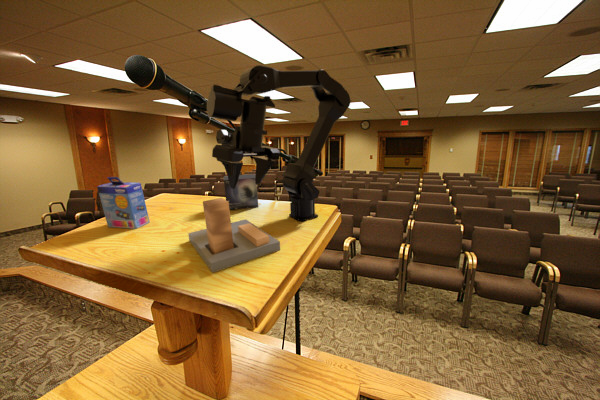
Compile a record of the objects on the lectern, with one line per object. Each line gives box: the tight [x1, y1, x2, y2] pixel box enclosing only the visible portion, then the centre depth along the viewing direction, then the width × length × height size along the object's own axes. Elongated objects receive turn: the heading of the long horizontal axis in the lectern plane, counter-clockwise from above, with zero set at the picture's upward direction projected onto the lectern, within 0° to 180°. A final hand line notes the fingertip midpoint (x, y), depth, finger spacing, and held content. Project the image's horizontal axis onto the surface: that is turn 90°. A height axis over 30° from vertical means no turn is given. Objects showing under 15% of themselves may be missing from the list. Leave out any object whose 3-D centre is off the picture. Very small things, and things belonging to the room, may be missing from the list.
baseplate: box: [188, 218, 281, 273], centre depth 60 cm, size 15×18×4 cm
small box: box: [223, 173, 259, 211], centre depth 88 cm, size 11×6×10 cm, turn 105°
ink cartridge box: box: [96, 176, 150, 230], centre depth 74 cm, size 10×6×14 cm, turn 78°
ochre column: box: [202, 197, 234, 255], centre depth 55 cm, size 4×4×12 cm
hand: (245, 186), depth 67 cm, fingers open, 9 cm apart
